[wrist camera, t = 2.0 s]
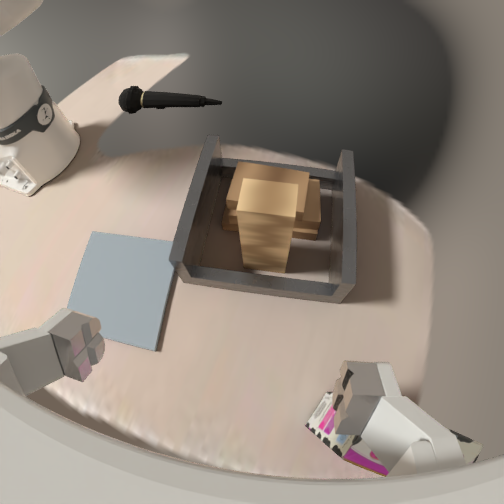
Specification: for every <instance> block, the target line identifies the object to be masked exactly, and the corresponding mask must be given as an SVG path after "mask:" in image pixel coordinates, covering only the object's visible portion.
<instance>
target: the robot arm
mask: <svg viewBox="0 0 504 504" xmlns="http://www.w3.org/2000/svg"><path fill="white" fill-rule="evenodd" d="M42 2H43V0H0V36H2V35H3V34H5V33H6V32H8V31H9V30H10V29H12V28H13V27H15V26H16V25H18V24H19V23H20V22H21V21H23V20H24V19H25V18H26V17H27V16H29V15H30V14H31V13H32V12H33V11H34V10H36V9H37V8H38V7H39V6H41V4H42ZM79 145H80V137H79V134H78V133H77V132H76V131H75V130H74V123H73V122H72V121H71V120H69V121H68V120H67V118H66V117H65V116H64V114H63V113H62V112H61V110H60V109H59V107H58V106H57V105H56V103H55V102H52V99H51V98H50V96H49V93H48V91H47V90H46V89H45V87H44V86H42V85H41V84H40V83H39V81H38V79H37V77H36V75H35V73H34V71H33V69H32V67H31V65H30V63H29V61H28V59H27V58H26V57H24V56H23V55H20V54H8V55H4V56H0V186H2V187H5V188H8V189H10V190H13V191H15V192H18V193H21V194H23V195H26V196H31V195H32V194H34V193H35V192H36V191H37V190H38V189H39V188H40V187H41V186H42V185H43V184H45V183H46V182H48V181H50V180H51V179H53V178H54V177H56V176H57V175H58V174H59V173H61V172H62V171H63V170H64V169H65V168H66V167H67V166H68V164H69V163H70V162H71V161H72V159H73V158H74V156H75V154H76V153H77V151H78V148H79ZM100 330H101V323H100V320H99V319H98V318H96V317H93V316H90V315H87V314H84V313H80V312H77V311H74V310H71V309H67V308H62V309H61V310H59V311H58V312H57V313H56V314H55V315H53V316H52V317H51V318H50V319H49V320H47V321H46V322H45V323H44V324H43V325H41V326H40V327H39V328H38V329H37V328H32V329H28V330H25V331H21V332H17V333H14V334H10V335H7V336H3V337H0V504H504V454H503V455H500V456H497V457H493V458H490V459H486V460H483V461H479V462H475V463H471V464H467V465H466V463H465V460H464V457H463V454H462V451H461V449H460V446H459V443H458V441H457V438H456V436H455V435H454V434H453V433H451V432H450V431H449V430H448V429H446V428H445V427H444V426H443V425H441V424H440V423H439V422H438V421H436V420H435V419H434V418H432V417H431V416H430V415H429V414H427V413H426V412H425V411H424V410H422V409H421V408H420V407H419V406H418V405H416V404H415V403H414V402H413V401H411V400H410V399H409V398H408V397H406V396H402V394H401V392H400V389H399V386H398V383H397V380H396V377H395V375H394V372H393V369H392V366H391V364H390V363H389V362H358V361H344V362H343V363H342V366H341V368H340V375H341V377H340V378H339V379H338V380H336V383H335V386H334V390H333V396H332V405H333V409H334V410H335V411H336V414H335V416H334V429H335V434H340V435H361V438H362V439H363V440H364V442H365V443H366V444H367V445H368V447H369V448H370V449H371V450H372V452H373V453H374V454H375V456H376V457H377V458H378V459H379V461H380V462H381V463H382V464H383V466H384V467H385V468H386V469H387V471H388V472H389V473H388V475H387V476H386V477H380V478H363V479H312V478H294V477H281V476H271V475H262V474H254V473H247V472H240V471H234V470H228V469H223V468H217V467H212V466H207V465H203V464H198V463H194V462H189V461H185V460H181V459H177V458H174V457H170V456H166V455H163V454H159V453H156V452H152V451H149V450H146V449H143V448H140V447H137V446H134V445H131V444H128V443H125V442H122V441H120V440H117V439H114V438H112V437H109V436H106V435H103V434H101V433H99V432H97V431H94V430H92V429H89V428H87V427H85V426H82V425H80V424H78V423H76V422H73V421H71V420H69V419H67V418H65V417H63V416H61V415H59V414H57V413H55V412H53V411H51V410H48V409H47V408H45V407H43V406H41V405H39V404H37V403H35V402H34V401H32V400H30V399H29V398H27V397H26V395H28V394H30V393H32V392H35V391H36V390H39V389H40V388H42V387H44V386H46V385H48V384H50V383H52V382H54V381H56V380H58V379H60V378H62V377H64V375H65V376H67V377H70V378H73V379H75V380H78V381H81V382H83V381H84V380H85V379H86V378H87V376H88V375H89V374H90V373H91V371H92V365H95V364H97V363H99V361H100V360H101V359H102V357H103V354H104V351H105V343H104V339H103V337H102V336H101V334H100V333H99V332H100Z"/></svg>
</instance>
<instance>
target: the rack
mask: <svg viewBox="0 0 504 504" xmlns="http://www.w3.org/2000/svg"><path fill="white" fill-rule="evenodd" d="M238 161H239V162H247V163H254V164H261V165H267V166H274V167H280V168H286V169H292V170H298V171H303V172H309V179H316V180H319V182H320V188H322V189H329V190H332V227H331V252H330V271H329V283H323V282H315V281H307V280H299V279H291V278H284V277H276V276H268V275H261V274H253V273H246V272H238V271H231V270H224V269H217V268H210V267H203V266H200V262H201V257H202V253H203V249H204V245H205V241H206V237H207V232H208V228H209V224H210V220H211V216H212V213H213V209H214V205H215V201H216V197H217V193H218V189H219V186H220V182H221V178H222V177H228V178H233V176H234V173H235V170H236V167H237V164H238ZM356 255H357V232H356V192H355V172H354V157H353V151H350V150H344V149H342V151H341V154H340V158H339V161H338V164H337V168H336V171H332V170H326V169H319V168H312V167H304V166H297V165H288V164H280V163H271V162H262V161H251V160H240V159H228V158H222V153H221V147H220V140H219V136H218V135H208V136H207V139H206V141H205V144H204V147H203V150H202V153H201V156H200V158H199V161H198V164H197V167H196V170H195V173H194V176H193V179H192V182H191V185H190V188H189V192H188V195H187V198H186V201H185V204H184V208H183V211H182V214H181V217H180V221H179V224H178V227H177V231H176V234H175V238H174V241H173V245H172V248H171V252H170V255H169V259H168V260H169V261H170V263H171V265H172V266H173V268H174V269H175V271H176V272H177V274H178V275H179V277H180V278H181V279H182V281H183V282H184V283H189V284H196V285H202V286H208V287H215V288H222V289H229V290H235V291H242V292H250V293H257V294H264V295H272V296H279V297H287V298H295V299H303V300H311V301H320V302H329V303H338V304H340V302H341V301H342V300H343V299H344V298H345V297H346V296H347V294H348V293H349V292H350V291H351V290H352V288H353V287H354V286H355V285H356Z"/></svg>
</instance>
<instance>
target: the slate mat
mask: <svg viewBox="0 0 504 504" xmlns="http://www.w3.org/2000/svg"><path fill="white" fill-rule="evenodd" d="M172 245H173V242H171V241H164V240H156V239H148V238H140V237H132V236H125V235H117V234H109V233H101V232H94V231H92V234H91V236H90V239H89V242H88V244H87V247H86V250H85V253H84V255H83V258H82V261H81V264H80V267H79V270H78V273H77V276H76V279H75V283H74V286H73V289H72V292H71V296H70V299H69V303H68V306H67V309H71V310H74V311H77V312H80V313H84V314H87V315H90V316H93V317H96V318H98V319H99V320H100V323H101V330H100V332H99V333H100V334H101V336H102V337H103V338H106V339H110V340H113V341H117V342H121V343H124V344H128V345H132V346H136V347H140V348H144V349H148V350H152V351H156V349H157V345H158V340H159V335H160V331H161V326H162V322H163V317H164V313H165V309H166V305H167V300H168V296H169V292H170V288H171V284H172V280H173V276H174V272H175V269H174V268H173V266H172V265H171V263H170V261H169V260H168V259H169V255H170V252H171V248H172Z"/></svg>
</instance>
